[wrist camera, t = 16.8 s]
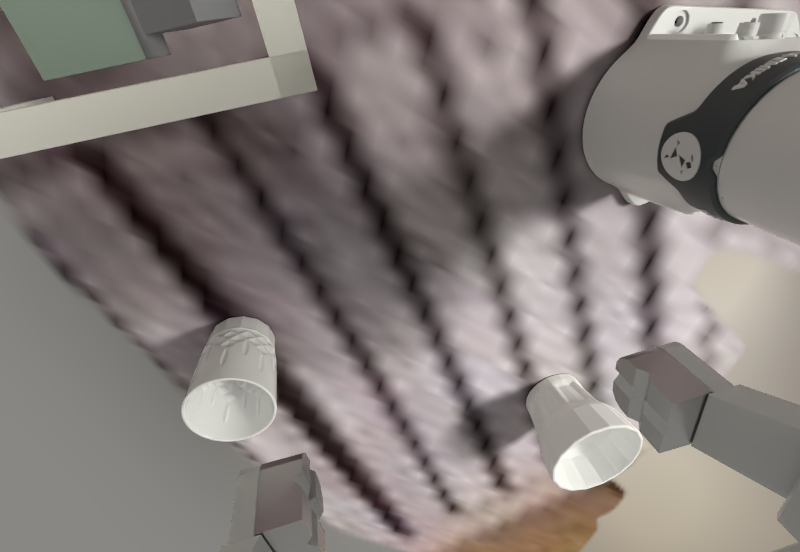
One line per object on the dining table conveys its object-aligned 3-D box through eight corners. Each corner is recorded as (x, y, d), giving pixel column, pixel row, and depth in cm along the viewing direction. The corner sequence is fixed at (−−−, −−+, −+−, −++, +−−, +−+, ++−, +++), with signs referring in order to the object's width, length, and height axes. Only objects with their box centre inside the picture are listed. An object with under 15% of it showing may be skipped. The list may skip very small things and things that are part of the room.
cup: (541, 434, 65) (582, 500, 56) (496, 404, 59) (533, 473, 50) (604, 385, 62) (658, 447, 53) (563, 349, 56) (616, 411, 47)
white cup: (189, 326, 42) (161, 398, 34) (261, 300, 43) (252, 366, 34) (225, 377, 47) (209, 452, 38) (291, 353, 47) (290, 423, 39)
